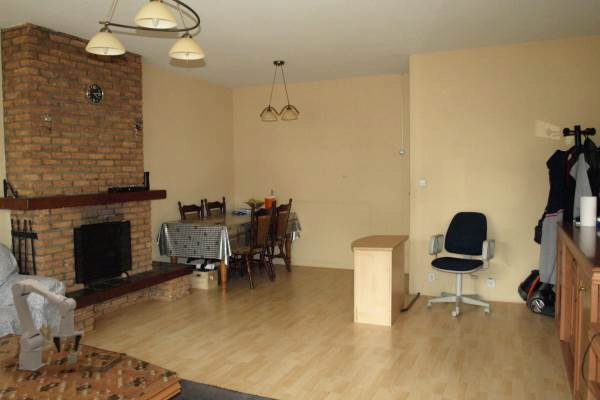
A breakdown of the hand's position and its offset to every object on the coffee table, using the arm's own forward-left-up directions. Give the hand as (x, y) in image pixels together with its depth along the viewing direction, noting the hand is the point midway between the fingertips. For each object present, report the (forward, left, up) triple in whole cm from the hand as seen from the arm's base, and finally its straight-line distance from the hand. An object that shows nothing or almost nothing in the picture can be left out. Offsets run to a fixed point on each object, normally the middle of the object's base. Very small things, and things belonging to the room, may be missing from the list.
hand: (67, 351), depth 230 cm
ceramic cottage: (-38, +24, -10) cm, 46 cm away
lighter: (-4, +10, -10) cm, 15 cm away
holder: (+11, +10, -10) cm, 18 cm away
